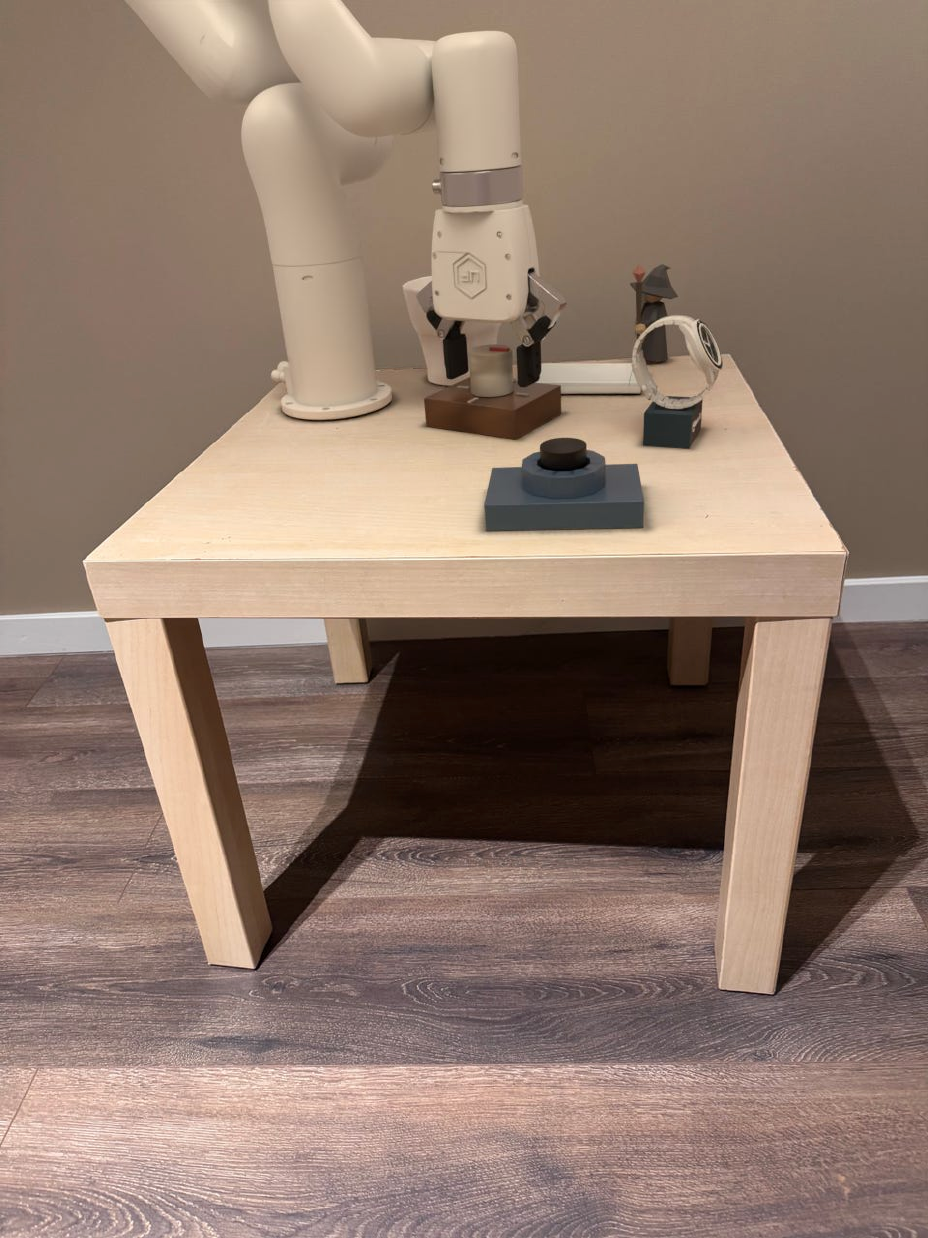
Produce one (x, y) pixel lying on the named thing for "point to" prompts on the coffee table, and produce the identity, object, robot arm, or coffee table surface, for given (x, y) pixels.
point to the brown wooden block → (493, 409)
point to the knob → (491, 370)
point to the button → (563, 454)
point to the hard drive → (591, 378)
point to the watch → (673, 415)
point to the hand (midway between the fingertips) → (492, 379)
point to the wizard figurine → (652, 310)
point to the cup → (433, 345)
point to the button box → (564, 496)
